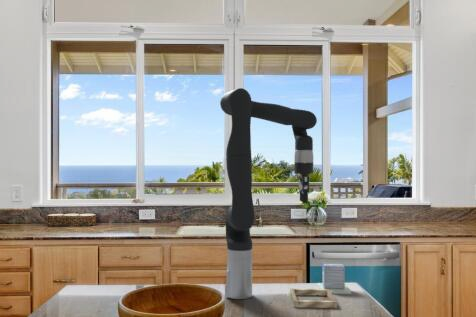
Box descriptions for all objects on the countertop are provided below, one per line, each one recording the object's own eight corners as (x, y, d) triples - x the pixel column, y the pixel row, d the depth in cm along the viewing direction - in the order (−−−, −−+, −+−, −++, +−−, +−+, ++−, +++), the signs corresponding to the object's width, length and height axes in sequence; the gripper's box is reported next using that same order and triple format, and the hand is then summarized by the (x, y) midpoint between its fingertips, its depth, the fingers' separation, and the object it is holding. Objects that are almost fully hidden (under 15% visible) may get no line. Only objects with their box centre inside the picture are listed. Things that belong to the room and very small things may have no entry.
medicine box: (342, 285, 162) (342, 263, 162) (345, 289, 158) (345, 266, 158) (322, 285, 162) (322, 263, 163) (324, 288, 158) (324, 266, 158)
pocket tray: (293, 307, 140) (293, 301, 140) (290, 294, 154) (290, 288, 154) (337, 308, 139) (337, 302, 139) (329, 294, 153) (329, 289, 153)
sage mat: (321, 293, 155) (321, 291, 155) (317, 285, 166) (317, 283, 166) (351, 294, 154) (351, 291, 154) (344, 285, 165) (344, 283, 165)
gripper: (292, 161, 174) (292, 200, 173) (296, 161, 159) (296, 203, 159) (310, 161, 173) (310, 200, 173) (315, 161, 159) (315, 203, 159)
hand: (303, 202), depth 166 cm, fingers open, 8 cm apart
